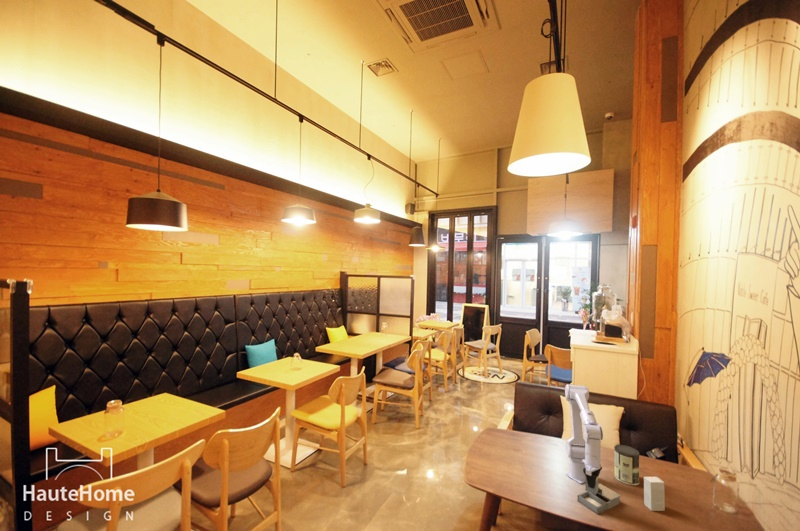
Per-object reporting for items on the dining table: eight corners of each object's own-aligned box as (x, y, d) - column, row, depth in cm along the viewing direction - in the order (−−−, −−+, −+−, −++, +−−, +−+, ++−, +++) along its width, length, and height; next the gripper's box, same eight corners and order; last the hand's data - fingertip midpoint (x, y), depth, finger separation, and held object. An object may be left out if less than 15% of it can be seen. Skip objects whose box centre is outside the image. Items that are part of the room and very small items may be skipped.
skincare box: (656, 504, 145) (656, 476, 145) (665, 511, 140) (665, 482, 141) (643, 504, 144) (643, 476, 145) (651, 511, 140) (651, 482, 140)
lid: (599, 484, 153) (599, 480, 153) (620, 496, 145) (620, 492, 145) (590, 488, 149) (590, 484, 150) (610, 501, 141) (610, 496, 142)
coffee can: (633, 474, 166) (633, 445, 167) (643, 487, 156) (643, 456, 157) (610, 471, 168) (610, 443, 169) (619, 483, 158) (619, 453, 159)
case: (599, 491, 152) (599, 485, 152) (619, 503, 144) (619, 497, 144) (577, 501, 145) (577, 495, 145) (597, 514, 137) (597, 508, 137)
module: (587, 486, 146) (588, 472, 146) (598, 490, 143) (598, 476, 143) (585, 490, 143) (585, 476, 143) (596, 494, 140) (596, 480, 141)
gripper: (586, 443, 152) (586, 473, 151) (577, 456, 141) (577, 488, 140) (604, 449, 147) (604, 480, 146) (596, 462, 136) (596, 496, 136)
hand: (592, 485), depth 143 cm, fingers closed on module, 4 cm apart
